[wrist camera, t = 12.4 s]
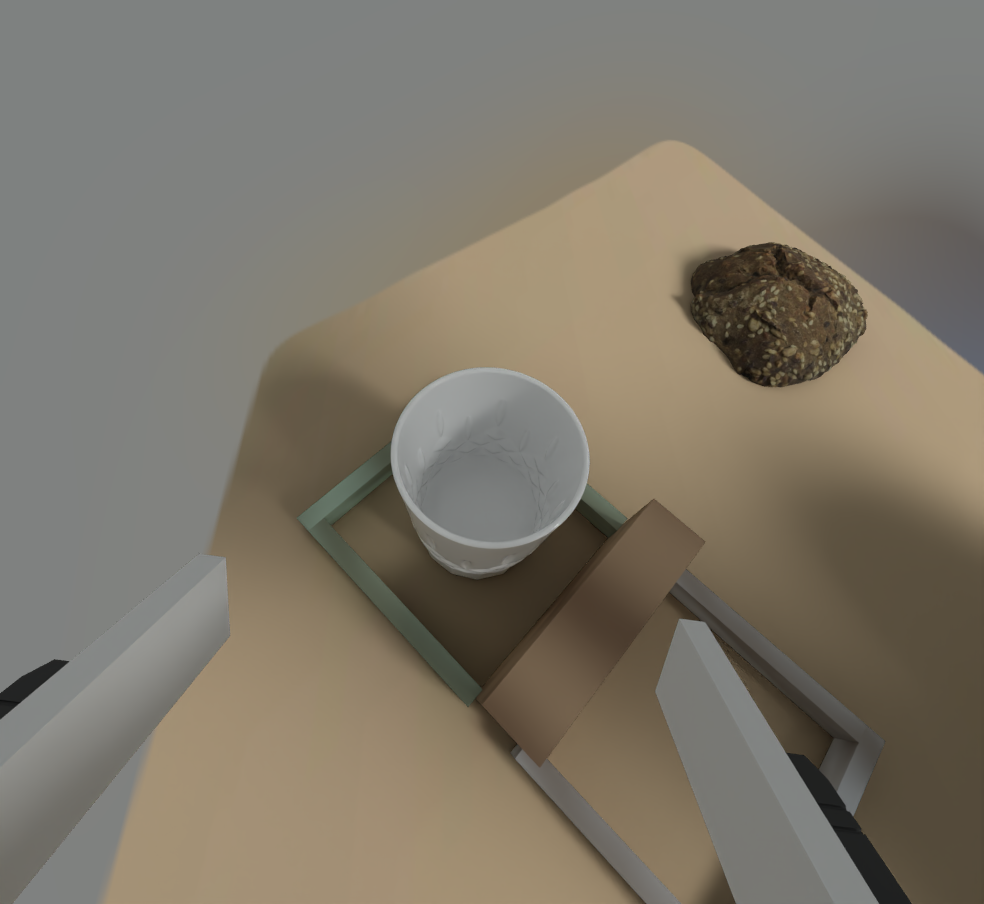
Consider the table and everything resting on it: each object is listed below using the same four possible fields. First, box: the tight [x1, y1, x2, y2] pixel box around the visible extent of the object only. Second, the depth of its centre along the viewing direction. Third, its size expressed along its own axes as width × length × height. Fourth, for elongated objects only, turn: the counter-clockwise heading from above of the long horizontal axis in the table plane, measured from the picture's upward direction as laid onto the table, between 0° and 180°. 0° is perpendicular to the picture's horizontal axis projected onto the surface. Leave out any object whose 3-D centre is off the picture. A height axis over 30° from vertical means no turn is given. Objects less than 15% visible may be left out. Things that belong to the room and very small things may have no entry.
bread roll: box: [691, 242, 867, 387], centre depth 34 cm, size 13×12×5 cm
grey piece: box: [297, 441, 885, 904], centre depth 22 cm, size 13×29×6 cm, turn 46°
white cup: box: [391, 367, 590, 580], centre depth 23 cm, size 8×8×10 cm
